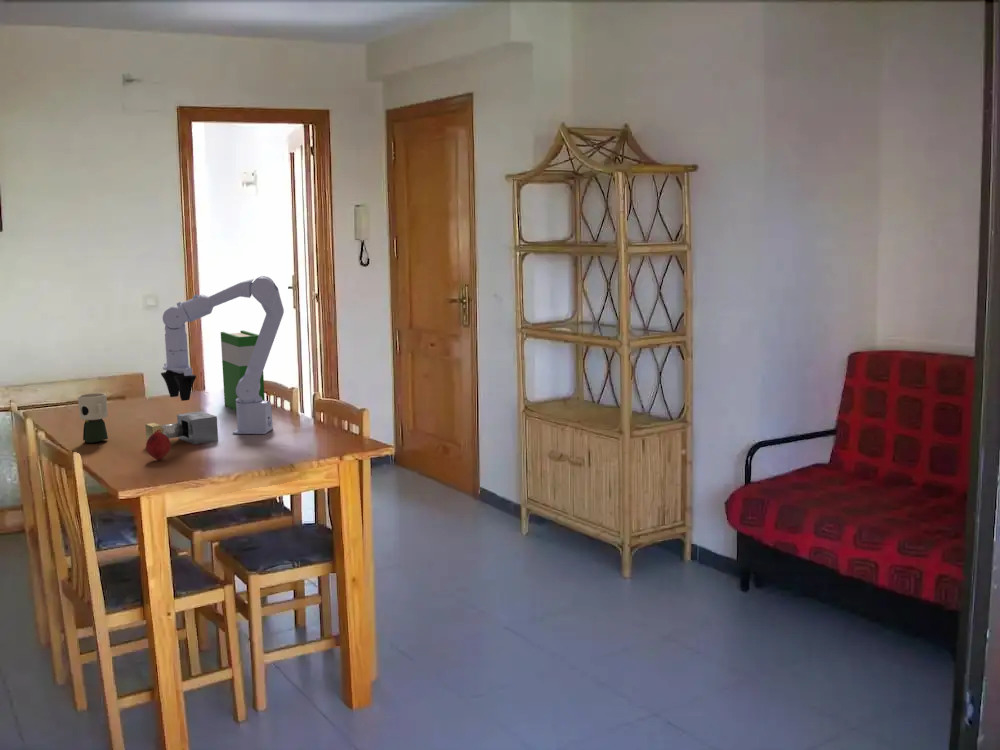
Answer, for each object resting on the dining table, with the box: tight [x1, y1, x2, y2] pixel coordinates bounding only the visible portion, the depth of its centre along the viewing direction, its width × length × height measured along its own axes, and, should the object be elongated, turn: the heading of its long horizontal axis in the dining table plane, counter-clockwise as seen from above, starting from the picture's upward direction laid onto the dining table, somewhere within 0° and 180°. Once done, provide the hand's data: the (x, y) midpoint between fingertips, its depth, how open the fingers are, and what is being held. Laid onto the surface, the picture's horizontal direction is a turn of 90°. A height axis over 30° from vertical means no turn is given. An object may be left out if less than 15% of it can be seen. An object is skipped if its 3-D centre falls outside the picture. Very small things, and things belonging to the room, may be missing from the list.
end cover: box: [145, 422, 183, 442], centre depth 261 cm, size 8×5×5 cm, turn 130°
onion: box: [145, 429, 172, 461], centre depth 245 cm, size 6×6×8 cm
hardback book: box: [220, 330, 266, 412], centre depth 311 cm, size 18×7×24 cm, turn 33°
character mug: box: [77, 392, 109, 444], centre depth 266 cm, size 11×7×13 cm, turn 43°
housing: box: [176, 410, 219, 445], centre depth 267 cm, size 7×10×7 cm
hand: (179, 398), depth 273 cm, fingers open, 7 cm apart
